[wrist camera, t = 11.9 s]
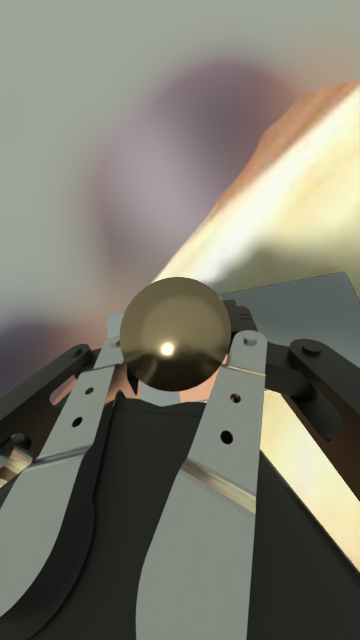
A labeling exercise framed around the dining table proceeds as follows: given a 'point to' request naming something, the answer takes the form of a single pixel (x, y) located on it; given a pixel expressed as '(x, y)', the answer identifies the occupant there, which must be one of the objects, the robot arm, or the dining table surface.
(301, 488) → the dining table surface
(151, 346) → the ball
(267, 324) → the seesaw board
